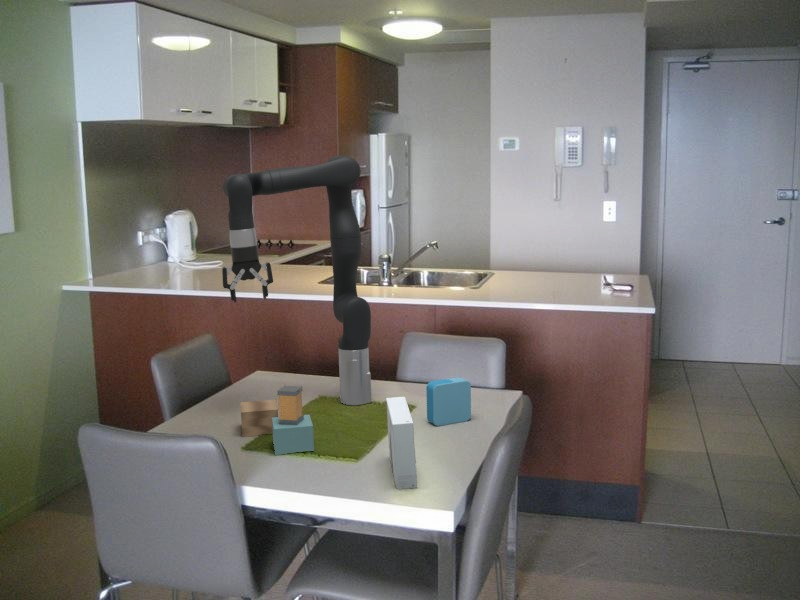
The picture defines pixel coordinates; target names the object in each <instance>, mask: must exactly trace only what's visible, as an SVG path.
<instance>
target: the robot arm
mask: <svg viewBox="0 0 800 600" xmlns="http://www.w3.org/2000/svg"><path fill="white" fill-rule="evenodd" d="M361 172H362V171H361V166H360V164H359V163H358V161H357V160H356V159H355V158H353V157H351V156H349V155H334V156H331V157H330V158H329V159H328V160H327V161H326V162H324V163H320V164H314V165H305V166H293V167H292V166H291V167H289V166H288V167H281V168H278V167H277V168H272V169H266V170H262V171H261V170H260V171H257V172H248V173H247V172H246V173H237V174H236V173H235V174H230V175H229V176H228V177H226V178H225V180H224V181H223V184H222V191H223V192H224V195H226V197H228V208H229V211H228V213H227V216H228V217H227V218H228V219H227V220H228V228H229V245H230V252H231V260H232V261H231V262H232V265H231V266H227V267H226V266H222V268H221V271H222V272H221V274H222V275H221V276H222V287H223V289H227V290H229V293H230V301H233V303H237V296H236V294H237V293H236V286H237V284H238V283H239V282H240V280H241V281H247V280H250V281H251V280H254V279H257V280H258V281H259V282H260V283H261V285H262V286H261V290H262V291H261V292H262V297H263V300H266V299H267V297H268V296H269V291H268V286H269V285H270V284H273V283H274V278H273V271H272V265H271V263H270V262H269V261H266V262H264V263H261V262H260V258H259V248H258V240H257V234H256V229H255V220H254V212H253V200H254V199H253V197H256V196H268V195H269V196H270V195H276V194H284V193H287V192H293V191H299V190H304V189H309V188H318V187H325V188H326V193H327V201H328V216H329V218H328V219H329V237H330V238H329V241H330V252H331V264H332V265H331V266H332V274H333V296H332V297H333V298H332V301H333V302H332V309H333V310H332V311H333V314H334V317H335V319H336V320H337V321H338V322H339V323H341V324H342V336H341V337H339V339H338V341H337V343H338V346H337V347H338V367H339V368H338V371H339V373H338V374H339V397H340V398H339V399H340V400H339V401H340V403H341V404H342V403H343V404H342V405H345V404H346V405H347V406H361V405H365V404H370V403H371V404H372V378H371V377H372V375H371V374H372V373H371V371H370V355H369V353H370V352H369V348H370V347H369V343H370V339H371V335H372V333H371V332H372V331H371V330H372V328H371V327H372V314H371V311H372V310H371V306H370V304H369V302H368V301H367V300H366V299H364V298H363V297H361V296H358V291H357V281H356V279H357V273H358V268H359V265H360V262H361V257H362V237H361V229H360V225H359V224H360V223H359V221H358V217H357V214H356V212H355V209H354V204H353V197H352V195H353V194H352V186H353V185H355V184H356V183H357V182H358V180H359V179H360V177H361ZM262 268H263V270H264V271H266V275H267V276H266V277H267V279H266V280H265V279H264V278H263V277H262V276H261V275H260V274H259V272H260V270H261V269H262ZM231 272H232V273H234V275H235V276H234V277H233V278H232V281H231V283H228V275H230V273H231Z"/></svg>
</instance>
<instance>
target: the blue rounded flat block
mask: <svg viewBox="0 0 800 600" xmlns="http://www.w3.org/2000/svg"><path fill="white" fill-rule="evenodd" d="M471 386H472V385H471V382H470V381H469V380H467V379H466V378H463V377H460V376H458V377H453V378H452V377H451V378H446V379H445V378H444V379H437V380H431V381H429V382H428V383H427V385H426V388H425V389H426V419H427V421H428V422H429V423H431V424H433V425H435V426H437V427H441V426H446V425H447V426H448V425H451V424H452V425H453V424H457V423H463V422H464V423H465V422H468V421H469V420H471V417H472V393H471V391H472V387H471Z"/></svg>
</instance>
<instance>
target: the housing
mask: <svg viewBox="0 0 800 600" xmlns="http://www.w3.org/2000/svg"><path fill="white" fill-rule="evenodd" d="M302 393H303V386H302V385H301V386H300V385H299V386H298V385H283V386H282V387H280V388H279V389H278V390H277V392H276V394H277V396H278V416H279V417H280V419H279V424H282V425H298V424H299V423H300V422H301V421H303V420H304V415H305V414H303V398H302Z"/></svg>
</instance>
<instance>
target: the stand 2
mask: <svg viewBox="0 0 800 600" xmlns="http://www.w3.org/2000/svg"><path fill="white" fill-rule="evenodd" d="M303 415H304V420H303V421H301V422H300V423H299V424H298V425H282V424H279V419H280V416H278V417H273V418H272V430H273V434H272V441H273V442H272V443H273V444H274V445H273V450H275V451H274V455H275V456H282V454H285V455H288V454H287V453H294V452H303V451H314V452H315V443H314V440H315V439H314V425H313V421H312V419H311V415H310V414H303Z"/></svg>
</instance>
